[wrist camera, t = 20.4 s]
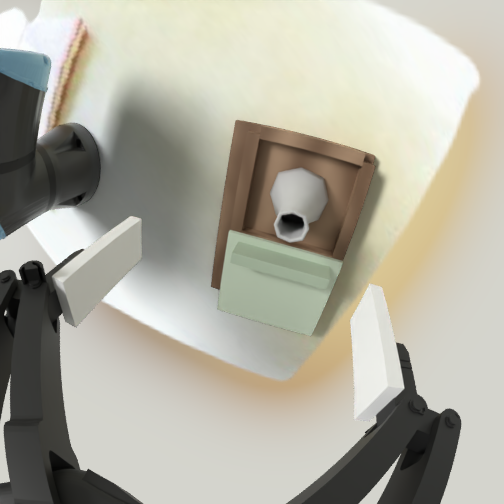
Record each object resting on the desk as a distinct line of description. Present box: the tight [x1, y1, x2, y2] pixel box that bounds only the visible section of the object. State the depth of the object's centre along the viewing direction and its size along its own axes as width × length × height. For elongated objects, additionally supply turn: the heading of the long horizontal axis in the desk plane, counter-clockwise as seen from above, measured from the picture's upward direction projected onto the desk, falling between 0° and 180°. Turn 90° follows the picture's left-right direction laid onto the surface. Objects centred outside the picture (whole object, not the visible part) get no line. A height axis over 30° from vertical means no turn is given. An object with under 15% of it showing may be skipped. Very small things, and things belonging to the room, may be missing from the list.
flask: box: [270, 167, 328, 243], centre depth 29 cm, size 7×7×10 cm
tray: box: [211, 120, 375, 289], centre depth 36 cm, size 17×25×2 cm
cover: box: [217, 230, 343, 336], centre depth 37 cm, size 15×14×4 cm
